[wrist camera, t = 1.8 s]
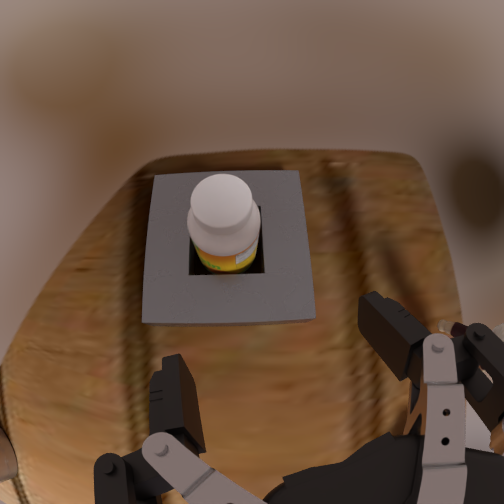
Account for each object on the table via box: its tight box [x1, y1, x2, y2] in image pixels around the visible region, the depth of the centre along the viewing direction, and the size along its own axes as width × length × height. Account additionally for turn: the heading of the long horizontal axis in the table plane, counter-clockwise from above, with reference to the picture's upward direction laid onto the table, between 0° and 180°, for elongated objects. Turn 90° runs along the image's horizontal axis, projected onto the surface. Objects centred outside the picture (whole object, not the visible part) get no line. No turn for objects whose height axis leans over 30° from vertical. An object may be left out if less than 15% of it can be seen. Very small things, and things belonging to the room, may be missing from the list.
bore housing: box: [142, 170, 316, 326], centre depth 25 cm, size 14×14×3 cm
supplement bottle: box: [187, 174, 261, 275], centre depth 22 cm, size 5×5×10 cm
